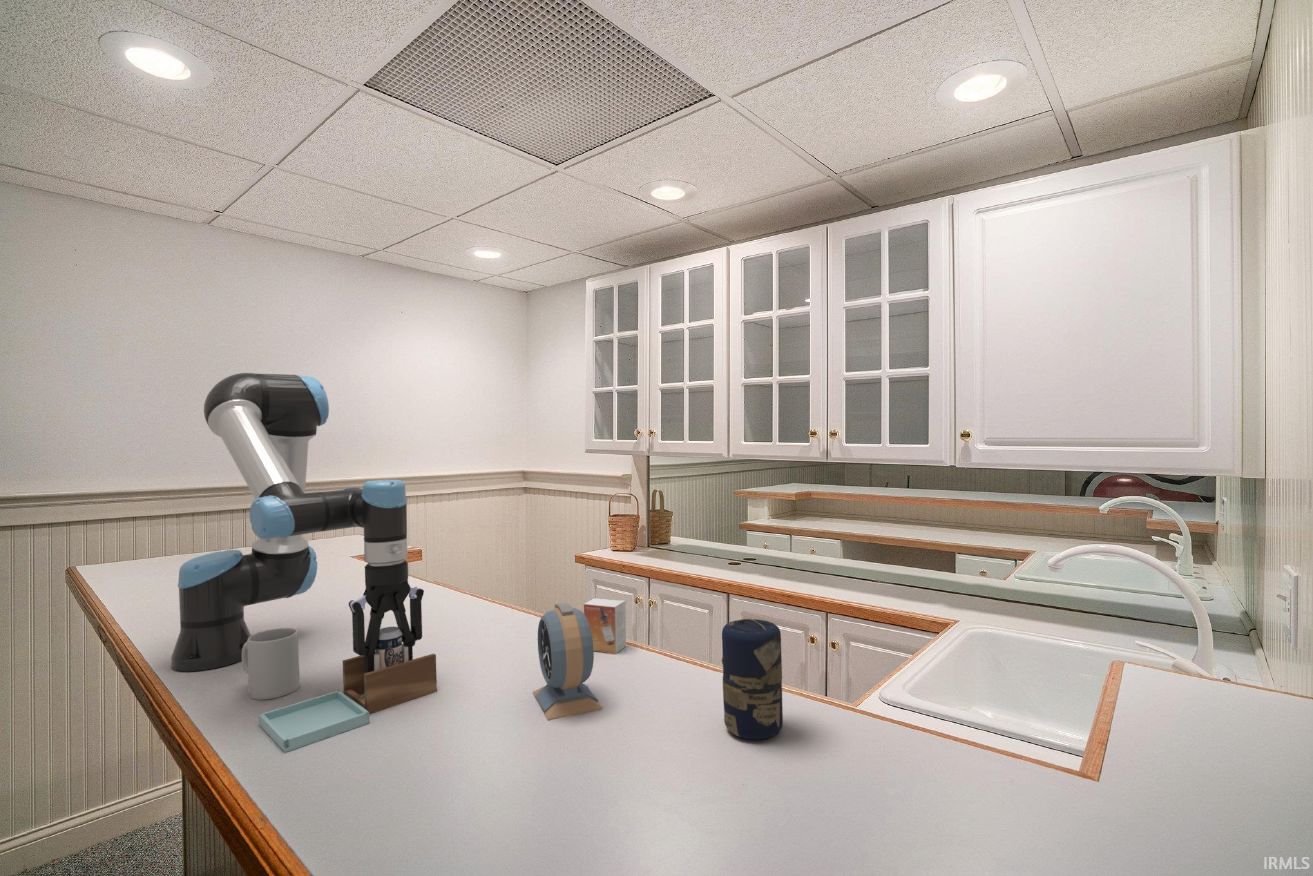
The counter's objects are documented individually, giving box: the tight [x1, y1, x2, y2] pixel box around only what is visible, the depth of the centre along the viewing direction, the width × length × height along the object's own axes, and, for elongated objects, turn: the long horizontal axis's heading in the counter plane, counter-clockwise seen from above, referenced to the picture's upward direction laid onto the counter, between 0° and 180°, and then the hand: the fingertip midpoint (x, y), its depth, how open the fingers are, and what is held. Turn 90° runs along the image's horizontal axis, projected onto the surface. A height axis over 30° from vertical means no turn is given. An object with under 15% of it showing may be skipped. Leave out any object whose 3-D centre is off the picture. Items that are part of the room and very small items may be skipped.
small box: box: [583, 597, 627, 655], centre depth 141 cm, size 8×6×10 cm
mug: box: [241, 627, 301, 701], centre depth 122 cm, size 12×8×11 cm
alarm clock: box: [532, 602, 603, 721], centre depth 114 cm, size 14×10×18 cm
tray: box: [258, 690, 371, 753], centre depth 107 cm, size 14×13×2 cm
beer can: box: [375, 626, 403, 669], centre depth 119 cm, size 5×5×12 cm
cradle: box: [342, 651, 438, 714], centre depth 119 cm, size 11×13×7 cm
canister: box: [721, 618, 784, 740], centre depth 101 cm, size 10×10×18 cm
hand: (389, 683), depth 119 cm, fingers closed on beer can, 5 cm apart
